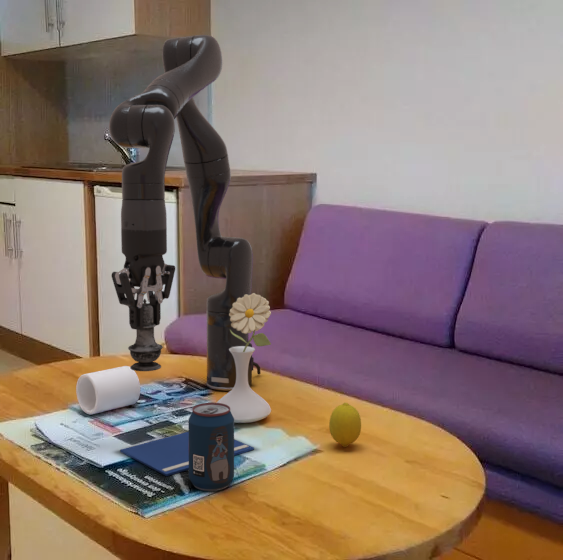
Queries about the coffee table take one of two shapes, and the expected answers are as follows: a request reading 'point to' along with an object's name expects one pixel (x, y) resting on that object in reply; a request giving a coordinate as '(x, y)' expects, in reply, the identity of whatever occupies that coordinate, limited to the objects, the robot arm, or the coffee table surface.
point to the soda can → (211, 446)
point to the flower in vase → (247, 359)
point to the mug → (107, 389)
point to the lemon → (345, 424)
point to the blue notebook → (170, 453)
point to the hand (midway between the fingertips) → (145, 326)
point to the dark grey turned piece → (146, 344)
